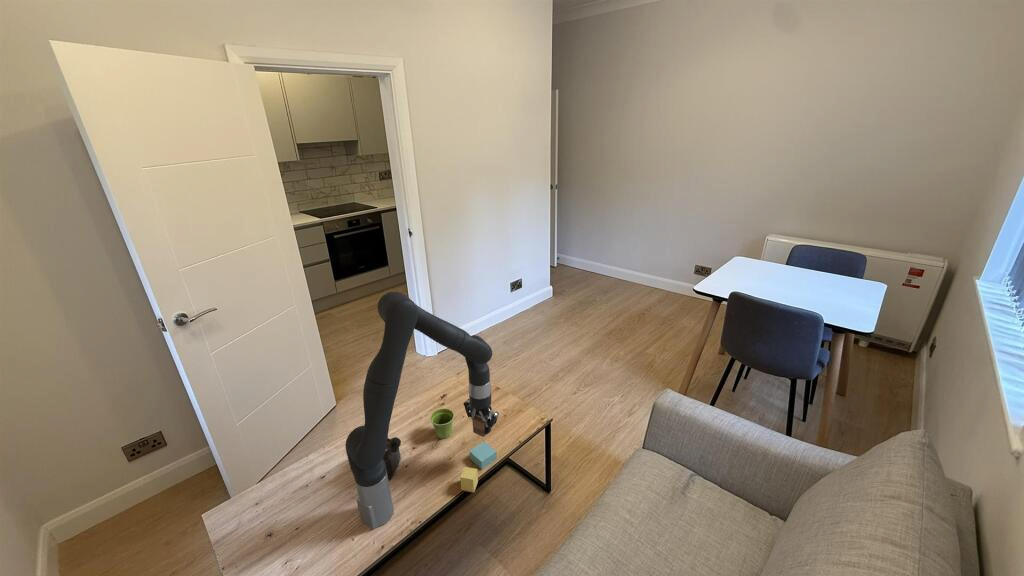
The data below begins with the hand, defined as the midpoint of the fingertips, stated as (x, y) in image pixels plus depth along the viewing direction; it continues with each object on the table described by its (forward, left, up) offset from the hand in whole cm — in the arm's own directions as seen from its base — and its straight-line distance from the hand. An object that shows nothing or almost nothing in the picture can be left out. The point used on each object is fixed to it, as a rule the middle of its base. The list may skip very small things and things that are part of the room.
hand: (481, 429), depth 146 cm
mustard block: (-12, -3, -14) cm, 19 cm away
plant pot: (+2, +21, -14) cm, 25 cm away
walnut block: (0, 0, -1) cm, 1 cm away
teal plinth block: (0, 0, -14) cm, 14 cm away
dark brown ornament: (-22, +26, -14) cm, 37 cm away
